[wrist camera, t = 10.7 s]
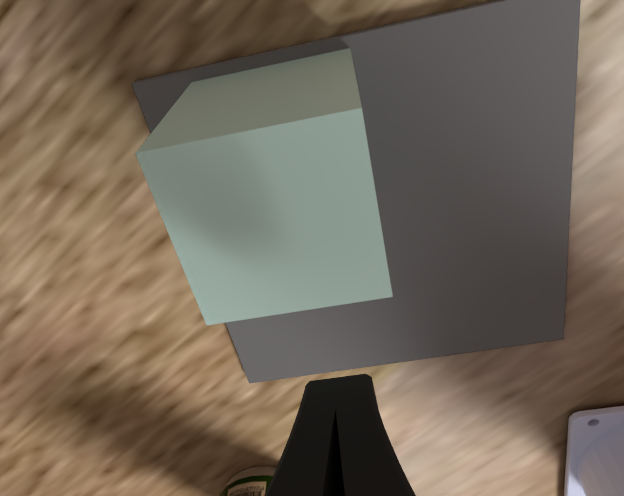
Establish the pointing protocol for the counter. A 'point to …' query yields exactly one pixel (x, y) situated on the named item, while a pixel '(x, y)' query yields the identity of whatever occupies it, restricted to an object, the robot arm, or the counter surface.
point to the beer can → (249, 482)
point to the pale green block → (270, 190)
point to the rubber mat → (440, 186)
